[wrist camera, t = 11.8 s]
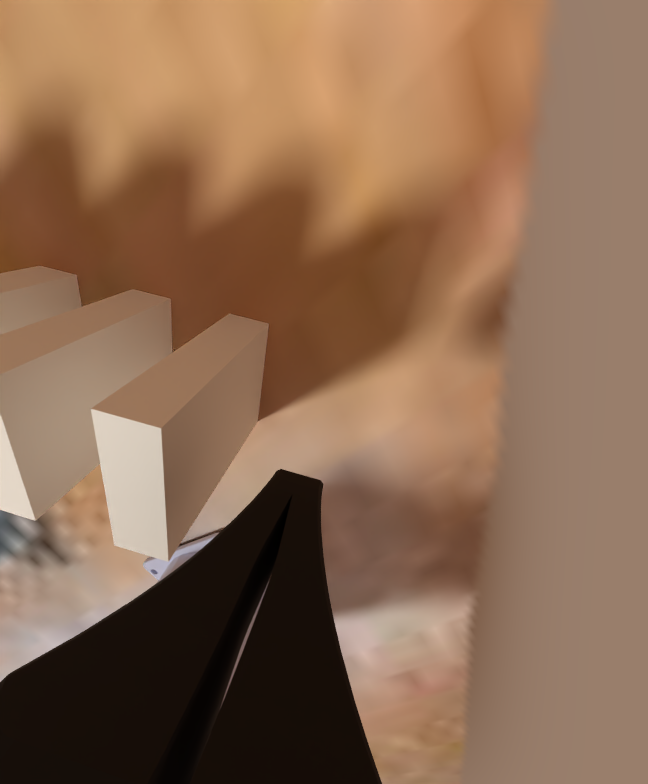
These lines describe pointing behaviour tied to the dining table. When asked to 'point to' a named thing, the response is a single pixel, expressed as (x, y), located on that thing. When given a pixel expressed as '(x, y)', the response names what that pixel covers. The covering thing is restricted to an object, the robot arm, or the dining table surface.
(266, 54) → the dining table surface
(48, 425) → the domino
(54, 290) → the domino
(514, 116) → the dining table surface
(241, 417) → the domino
